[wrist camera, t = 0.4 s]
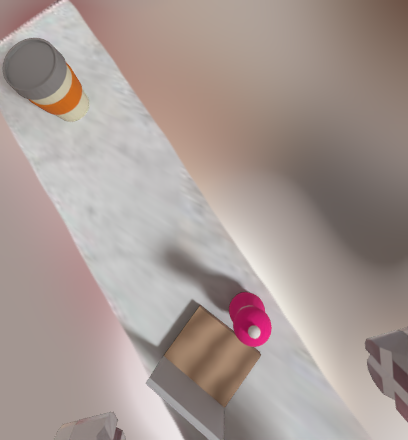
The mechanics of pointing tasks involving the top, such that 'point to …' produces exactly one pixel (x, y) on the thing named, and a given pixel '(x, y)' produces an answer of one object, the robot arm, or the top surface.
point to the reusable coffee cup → (45, 79)
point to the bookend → (203, 372)
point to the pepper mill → (249, 319)
